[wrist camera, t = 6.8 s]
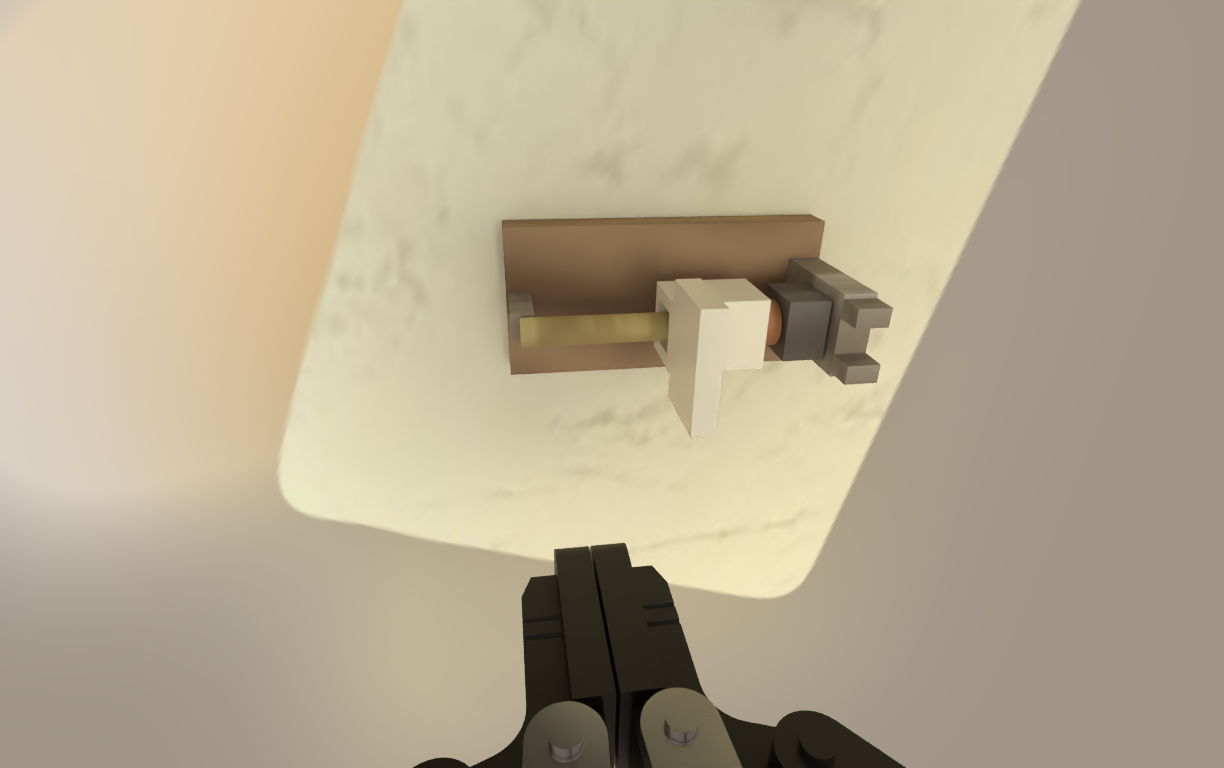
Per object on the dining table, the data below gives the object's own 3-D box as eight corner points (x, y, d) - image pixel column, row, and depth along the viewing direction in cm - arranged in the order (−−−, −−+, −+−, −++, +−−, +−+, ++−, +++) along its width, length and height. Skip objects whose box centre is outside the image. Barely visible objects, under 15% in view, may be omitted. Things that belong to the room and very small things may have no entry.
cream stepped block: (658, 258, 27) (701, 309, 22) (747, 256, 28) (813, 305, 22) (652, 365, 30) (690, 437, 24) (736, 361, 30) (792, 430, 24)
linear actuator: (502, 220, 29) (503, 271, 22) (810, 214, 31) (905, 259, 24) (510, 361, 32) (514, 447, 25) (791, 347, 34) (870, 423, 27)
